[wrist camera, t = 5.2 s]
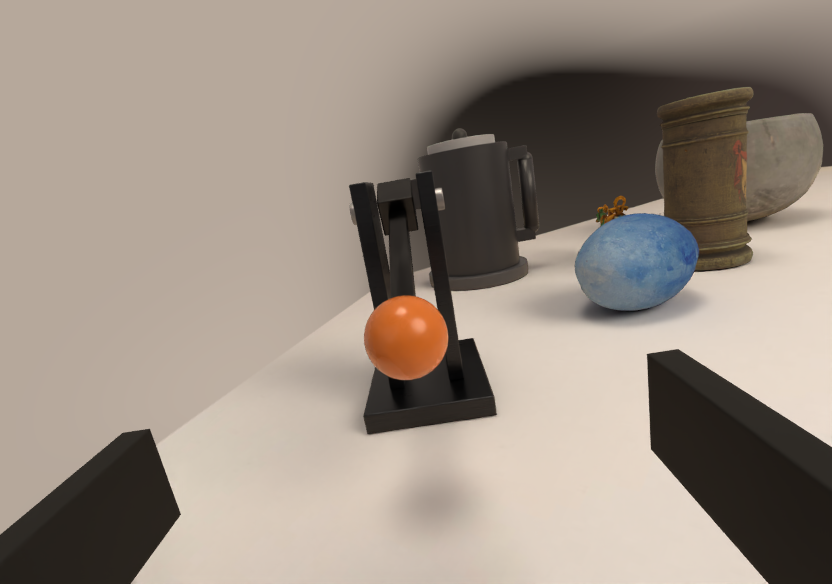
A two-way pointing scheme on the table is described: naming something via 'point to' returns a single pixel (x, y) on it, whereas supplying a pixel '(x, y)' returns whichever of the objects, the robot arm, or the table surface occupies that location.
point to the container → (708, 173)
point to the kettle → (481, 208)
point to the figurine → (611, 212)
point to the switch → (403, 298)
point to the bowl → (775, 162)
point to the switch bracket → (461, 365)
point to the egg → (636, 262)
